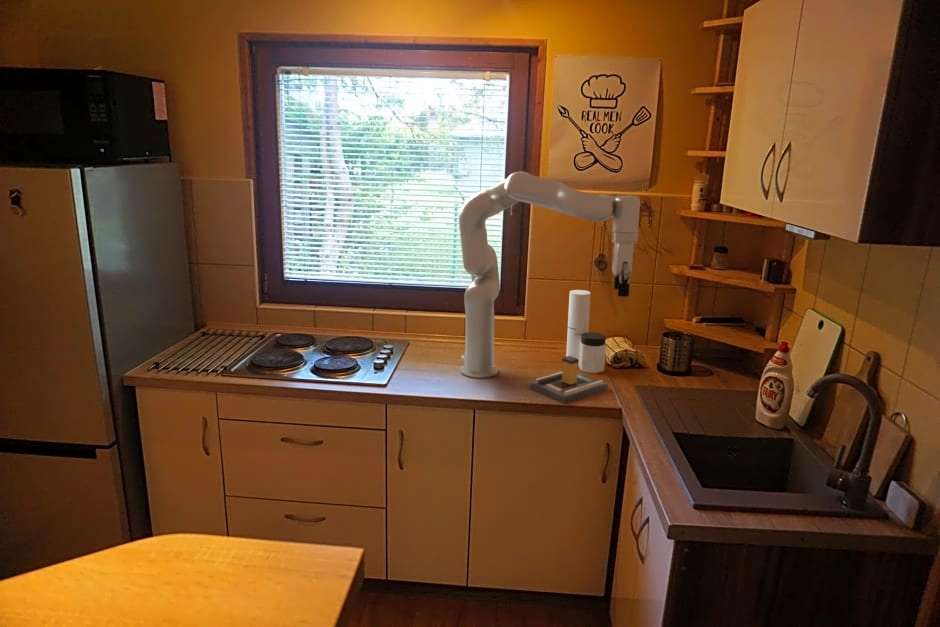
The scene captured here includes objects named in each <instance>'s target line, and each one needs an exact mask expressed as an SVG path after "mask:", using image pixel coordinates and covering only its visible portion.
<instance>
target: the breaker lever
mask: <svg viewBox="0 0 940 627" xmlns="http://www.w3.org/2000/svg"><path fill="white" fill-rule="evenodd" d="M561 360H562V367H561V372H562V382H564V383H567V384H569V385H571V384H574V383H577V372H578V371H579V370H578V368H579V364H578V361H579V359H577V358H574V357H571V356H567V357H566V356H564V357H562V359H561Z"/></svg>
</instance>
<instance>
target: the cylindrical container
mask: <svg viewBox="0 0 940 627" xmlns="http://www.w3.org/2000/svg"><path fill="white" fill-rule="evenodd" d="M590 307H591V291H589V290H584V289H573V290H570V291H569V297H568V314H567V316H568V318H567V331H566V332H567V338H566V354H565V357H567V356H571V357H574V358H577V359H579V350H580V341H581V335H582V334H583V333H587V332H589V323H590V310H591V309H590ZM578 365H579V361H578Z"/></svg>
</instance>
